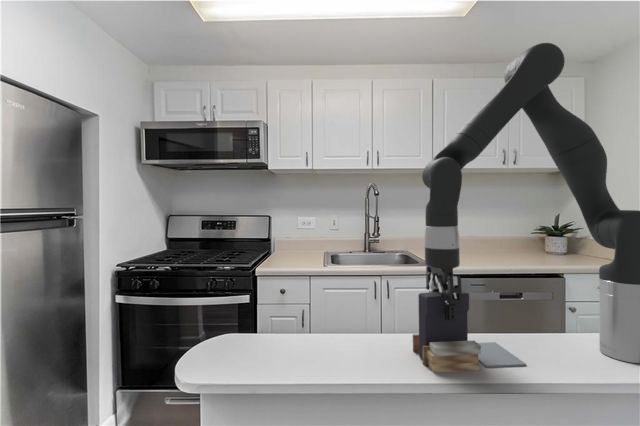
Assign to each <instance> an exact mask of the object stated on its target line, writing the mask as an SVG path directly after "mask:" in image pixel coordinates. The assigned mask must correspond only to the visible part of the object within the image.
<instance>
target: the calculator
mask: <svg viewBox="0 0 640 426" xmlns="http://www.w3.org/2000/svg"><path fill="white" fill-rule="evenodd" d="M461 294H462V304H458V305H456V321H455V322H447V321H446V320H445V301H444V298H443V296H442V295H441V294H440V291H439V292H429V291H428V292H422V293H421V292H420V293H419V294H418V334H419V352H418V354H419V355H418V356H419V358H420V359H421V360H423V346H430V342H449V341H469V340H468V338H469V337H468V334H469V333H468V332H469V331H468V330H469V329H468V312H469V310H470V293H468V292H465V291H462V290H461ZM447 296H448V295H447ZM456 297H457V293H456Z"/></svg>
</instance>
